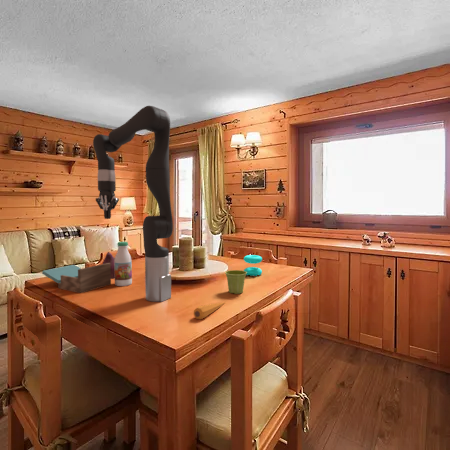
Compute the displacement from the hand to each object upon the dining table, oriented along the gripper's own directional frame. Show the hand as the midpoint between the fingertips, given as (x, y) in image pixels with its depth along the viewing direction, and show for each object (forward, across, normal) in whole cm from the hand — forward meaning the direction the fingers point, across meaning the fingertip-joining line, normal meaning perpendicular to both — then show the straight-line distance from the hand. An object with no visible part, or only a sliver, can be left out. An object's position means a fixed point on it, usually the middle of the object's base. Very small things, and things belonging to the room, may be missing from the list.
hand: (107, 218), depth 138 cm
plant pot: (+31, -56, -19) cm, 67 cm away
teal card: (+29, +16, +6) cm, 33 cm away
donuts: (+31, -50, -53) cm, 79 cm away
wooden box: (+31, +8, +6) cm, 33 cm away
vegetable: (+31, +13, -13) cm, 36 cm away
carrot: (+32, -59, +6) cm, 67 cm away
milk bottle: (+31, -4, -5) cm, 32 cm away
